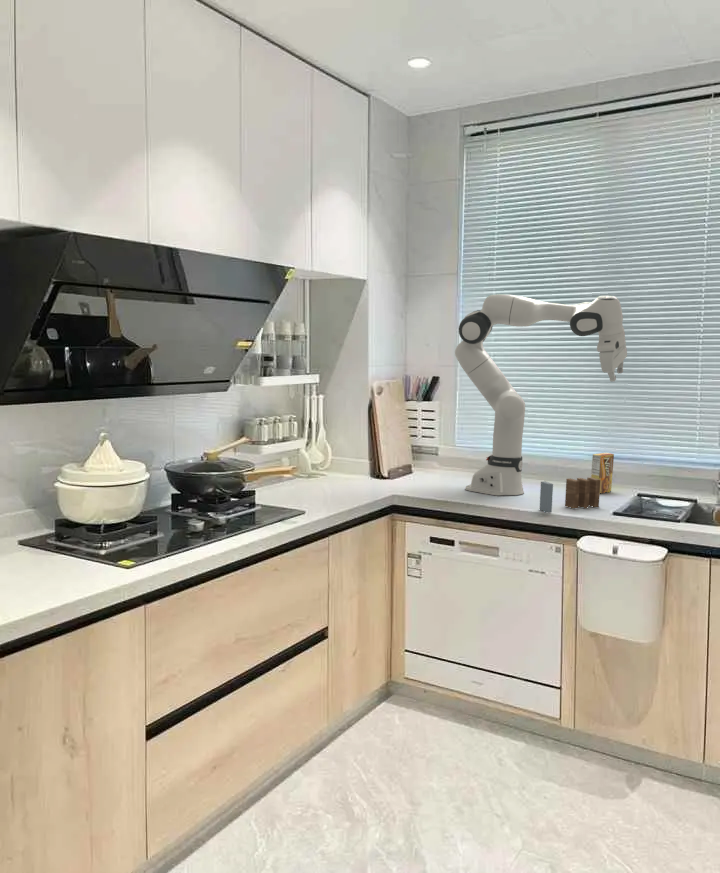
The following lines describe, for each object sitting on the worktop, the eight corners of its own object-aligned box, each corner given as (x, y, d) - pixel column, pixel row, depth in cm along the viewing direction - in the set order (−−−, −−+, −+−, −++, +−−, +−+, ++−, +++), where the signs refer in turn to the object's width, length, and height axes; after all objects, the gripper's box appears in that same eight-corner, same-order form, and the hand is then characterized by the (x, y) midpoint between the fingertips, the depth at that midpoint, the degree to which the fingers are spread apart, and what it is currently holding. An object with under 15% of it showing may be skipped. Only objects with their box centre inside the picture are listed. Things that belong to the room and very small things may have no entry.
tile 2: (573, 509, 277) (575, 481, 276) (564, 506, 281) (566, 478, 280) (577, 508, 278) (579, 480, 276) (569, 506, 282) (570, 478, 281)
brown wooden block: (594, 507, 280) (596, 480, 279) (585, 504, 285) (587, 477, 284) (598, 507, 281) (600, 479, 280) (589, 504, 285) (591, 477, 284)
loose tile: (546, 513, 269) (548, 484, 268) (539, 509, 274) (540, 481, 273) (551, 512, 270) (553, 483, 269) (544, 509, 275) (545, 481, 274)
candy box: (602, 490, 315) (605, 452, 313) (612, 492, 312) (614, 453, 310) (589, 492, 309) (591, 453, 307) (598, 494, 306) (601, 455, 304)
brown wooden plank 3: (584, 508, 279) (585, 480, 277) (575, 505, 283) (576, 478, 282) (588, 508, 279) (590, 480, 278) (579, 505, 284) (581, 477, 283)
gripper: (611, 333, 293) (616, 368, 297) (595, 348, 278) (600, 386, 282) (629, 331, 290) (633, 367, 294) (613, 347, 274) (617, 385, 278)
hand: (616, 376), depth 288 cm, fingers open, 8 cm apart
